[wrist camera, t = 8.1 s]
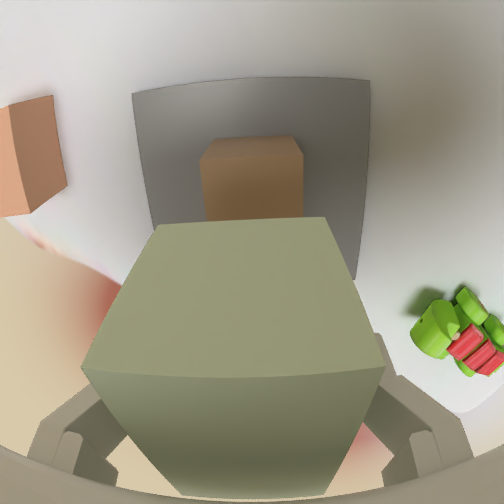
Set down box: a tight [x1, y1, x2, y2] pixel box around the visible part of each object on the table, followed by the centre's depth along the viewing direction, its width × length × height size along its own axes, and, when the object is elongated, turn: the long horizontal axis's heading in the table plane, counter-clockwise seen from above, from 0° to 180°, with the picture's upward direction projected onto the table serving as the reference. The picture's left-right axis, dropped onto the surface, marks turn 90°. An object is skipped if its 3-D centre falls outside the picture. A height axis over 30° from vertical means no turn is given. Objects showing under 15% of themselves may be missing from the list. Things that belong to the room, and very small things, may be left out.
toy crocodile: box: [410, 287, 504, 377], centre depth 24 cm, size 20×7×6 cm, turn 58°
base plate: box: [132, 77, 370, 280], centre depth 17 cm, size 14×14×6 cm
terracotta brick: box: [0, 95, 68, 217], centre depth 16 cm, size 4×7×5 cm, turn 2°
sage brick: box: [81, 217, 386, 499], centre depth 8 cm, size 4×7×5 cm, turn 3°
